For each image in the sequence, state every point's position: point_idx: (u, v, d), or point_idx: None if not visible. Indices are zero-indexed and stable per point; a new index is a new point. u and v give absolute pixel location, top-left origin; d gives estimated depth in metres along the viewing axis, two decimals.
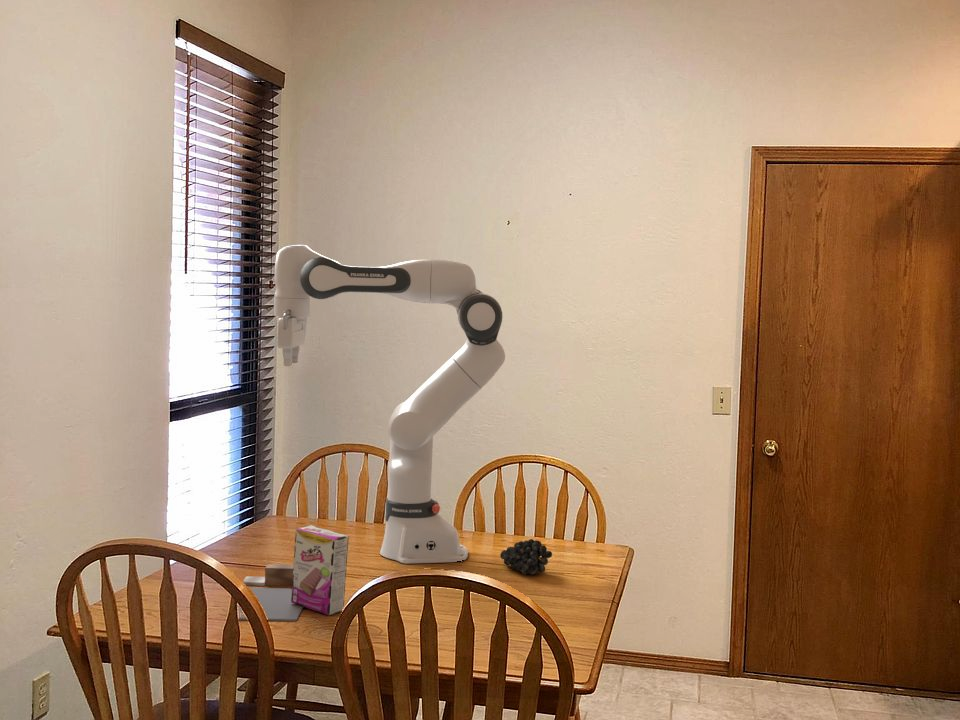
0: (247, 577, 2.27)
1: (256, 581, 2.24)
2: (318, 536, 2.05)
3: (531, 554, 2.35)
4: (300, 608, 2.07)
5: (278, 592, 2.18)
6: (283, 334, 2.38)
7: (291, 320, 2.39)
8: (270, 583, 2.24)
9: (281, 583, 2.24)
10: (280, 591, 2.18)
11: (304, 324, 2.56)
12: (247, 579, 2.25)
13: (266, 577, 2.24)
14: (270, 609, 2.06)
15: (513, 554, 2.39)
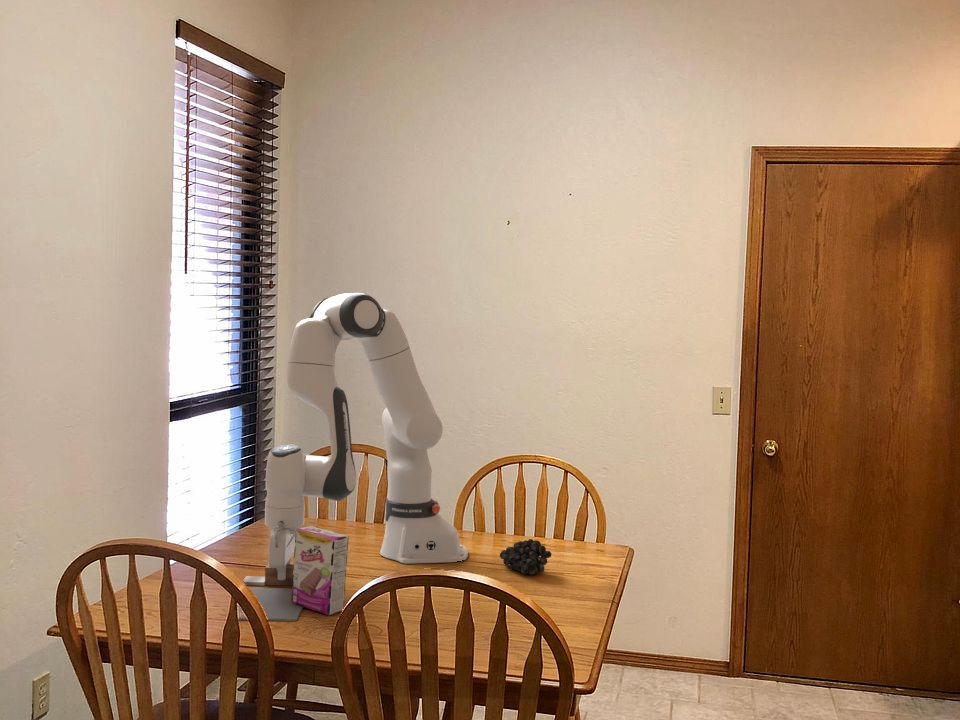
0: (247, 576, 2.27)
1: (256, 581, 2.24)
2: (318, 536, 2.05)
3: (530, 554, 2.35)
4: (300, 608, 2.07)
5: (278, 592, 2.18)
6: (275, 553, 2.15)
7: (284, 536, 2.16)
8: (270, 583, 2.24)
9: (281, 583, 2.24)
10: (280, 591, 2.18)
11: None
12: (247, 579, 2.25)
13: (266, 577, 2.24)
14: (270, 609, 2.06)
15: (512, 554, 2.39)
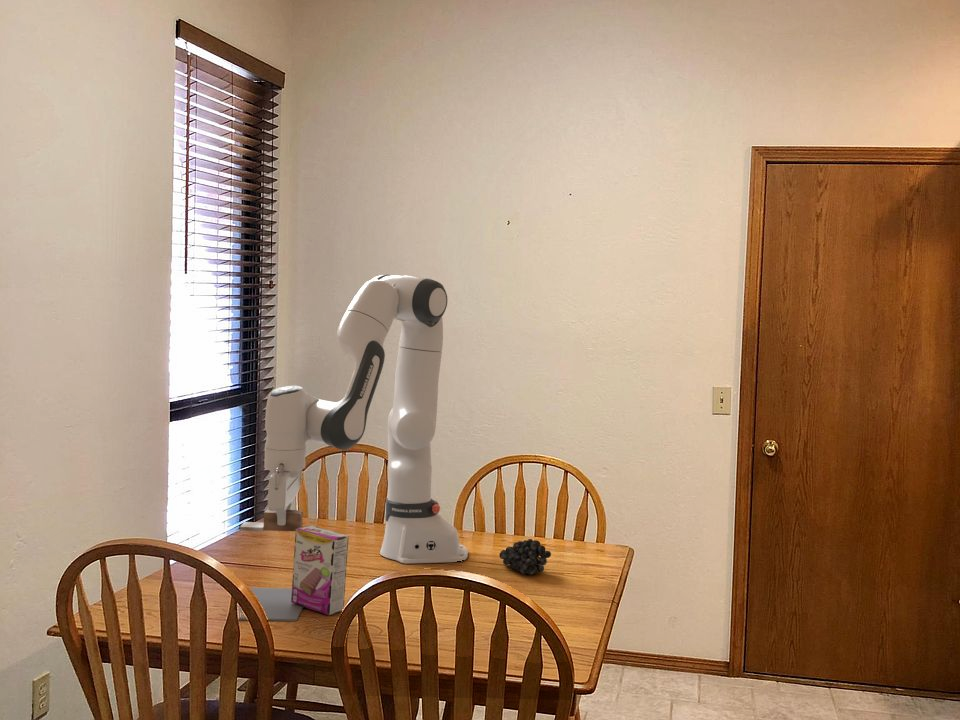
0: (245, 522, 2.19)
1: (254, 526, 2.16)
2: (318, 536, 2.05)
3: (530, 554, 2.35)
4: (300, 608, 2.07)
5: (278, 592, 2.18)
6: (274, 495, 2.07)
7: (284, 478, 2.08)
8: (269, 528, 2.16)
9: (280, 528, 2.16)
10: (280, 591, 2.18)
11: (299, 471, 2.24)
12: (245, 524, 2.17)
13: (265, 522, 2.16)
14: (270, 609, 2.06)
15: (512, 554, 2.39)
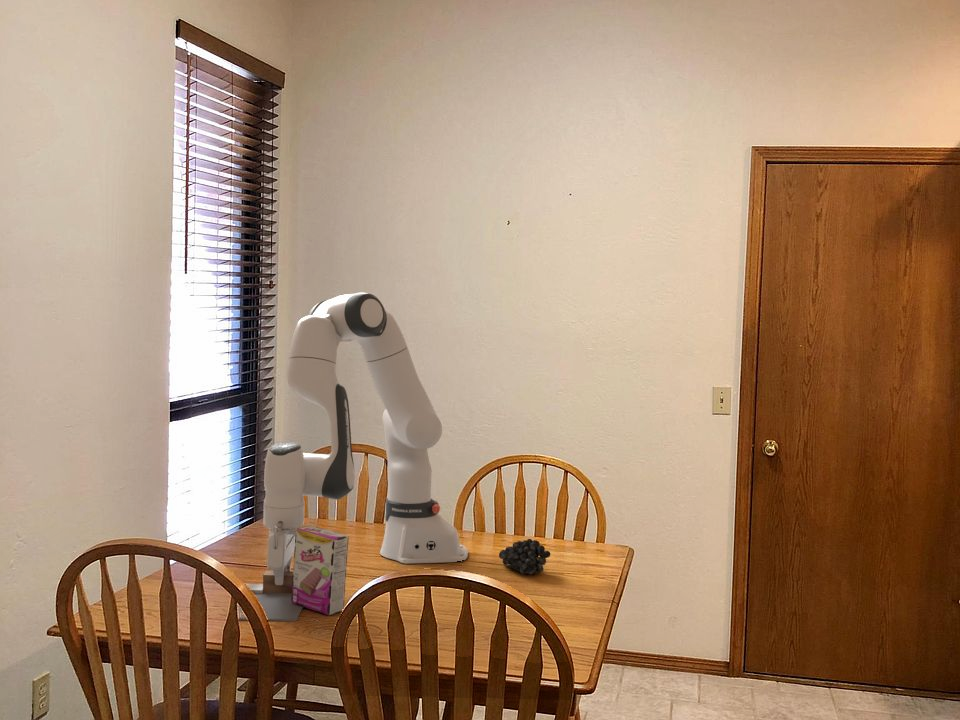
0: None
1: (254, 589, 2.17)
2: (318, 536, 2.05)
3: (529, 554, 2.35)
4: (300, 608, 2.07)
5: None
6: (273, 554, 2.08)
7: (283, 537, 2.09)
8: (268, 591, 2.17)
9: (280, 591, 2.17)
10: None
11: None
12: None
13: (264, 584, 2.17)
14: (270, 609, 2.06)
15: (511, 554, 2.39)
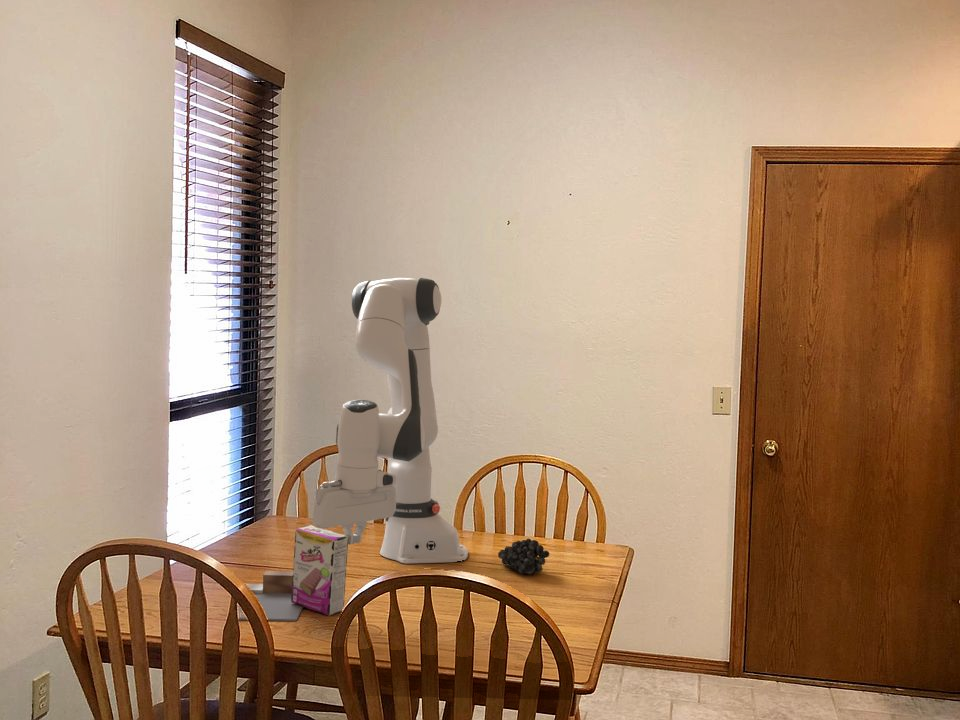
0: None
1: (254, 589, 2.17)
2: (318, 537, 2.05)
3: (528, 554, 2.36)
4: (300, 608, 2.07)
5: None
6: (316, 510, 2.00)
7: (327, 495, 2.00)
8: (268, 591, 2.17)
9: (280, 591, 2.17)
10: None
11: (389, 494, 2.11)
12: None
13: (264, 584, 2.17)
14: (270, 609, 2.06)
15: (510, 553, 2.39)
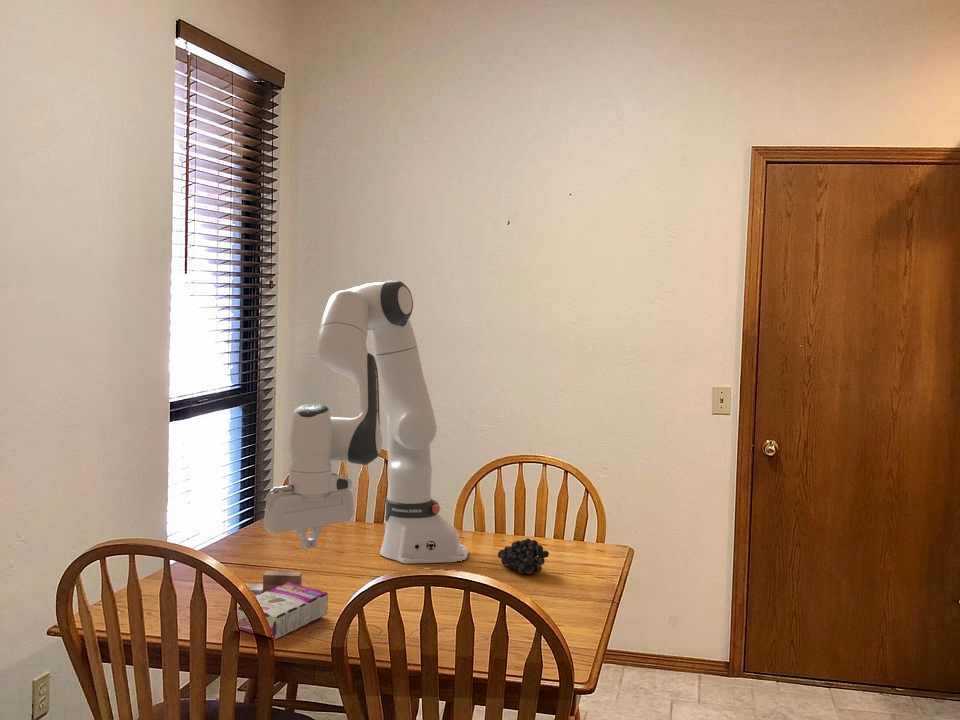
0: None
1: (254, 589, 2.17)
2: None
3: (527, 554, 2.36)
4: None
5: None
6: (267, 515, 2.01)
7: (276, 500, 2.00)
8: None
9: None
10: None
11: (345, 498, 2.11)
12: None
13: (264, 584, 2.17)
14: None
15: (510, 553, 2.39)
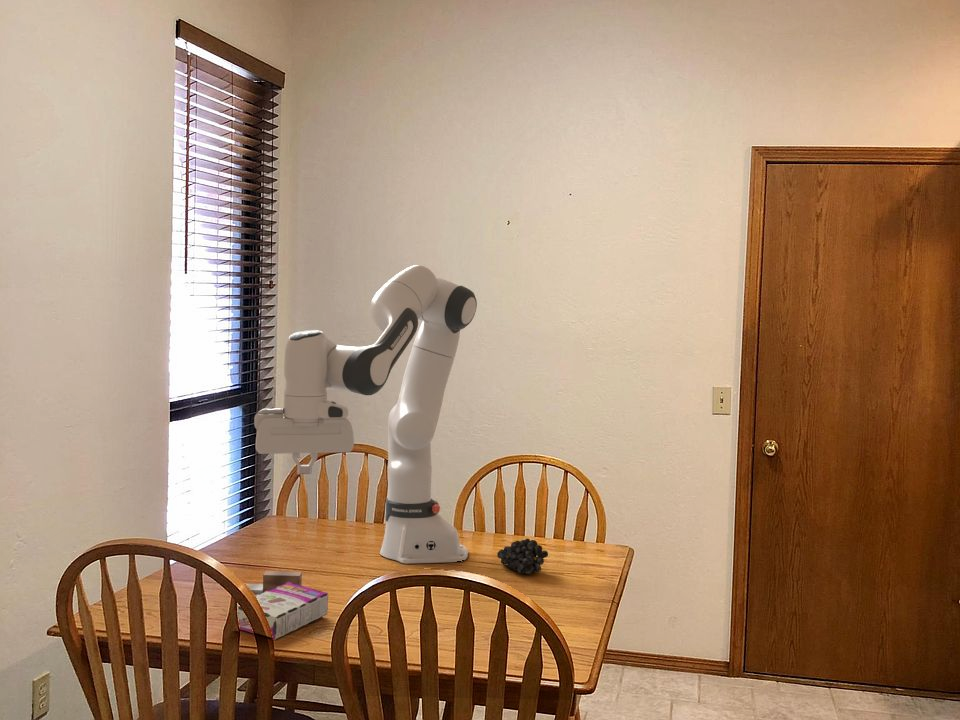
0: None
1: (254, 589, 2.17)
2: None
3: (526, 553, 2.36)
4: None
5: None
6: (256, 436, 2.04)
7: (262, 420, 2.02)
8: None
9: None
10: None
11: (343, 428, 2.06)
12: None
13: (264, 584, 2.17)
14: None
15: (509, 553, 2.39)
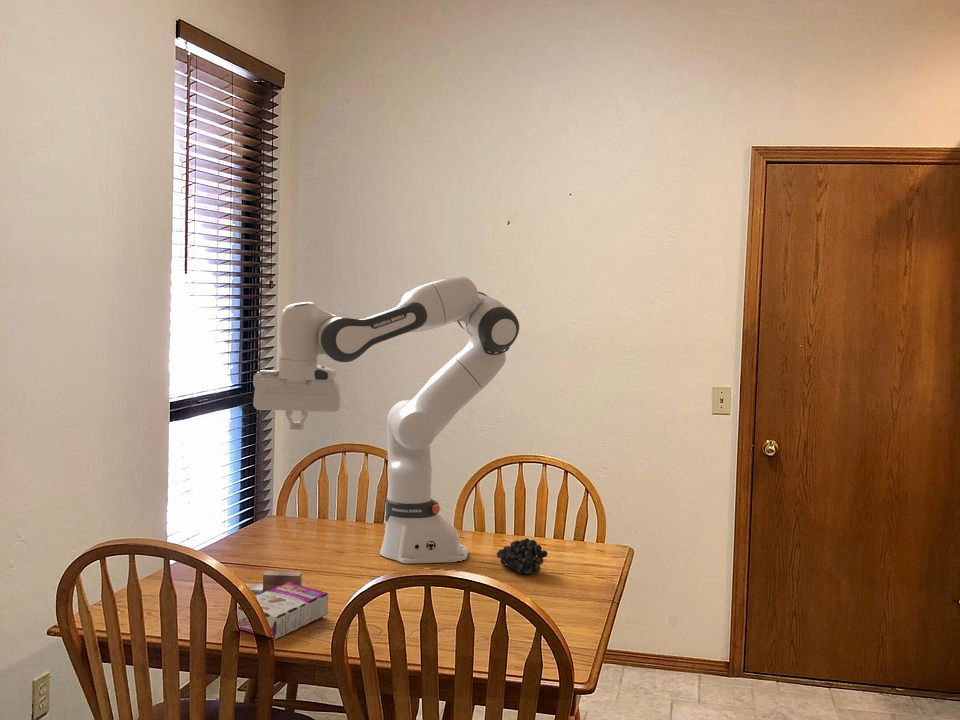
0: None
1: (254, 589, 2.17)
2: None
3: (526, 553, 2.36)
4: None
5: None
6: None
7: (258, 380, 2.29)
8: None
9: None
10: None
11: (329, 390, 2.29)
12: None
13: (264, 584, 2.17)
14: None
15: (508, 553, 2.40)
